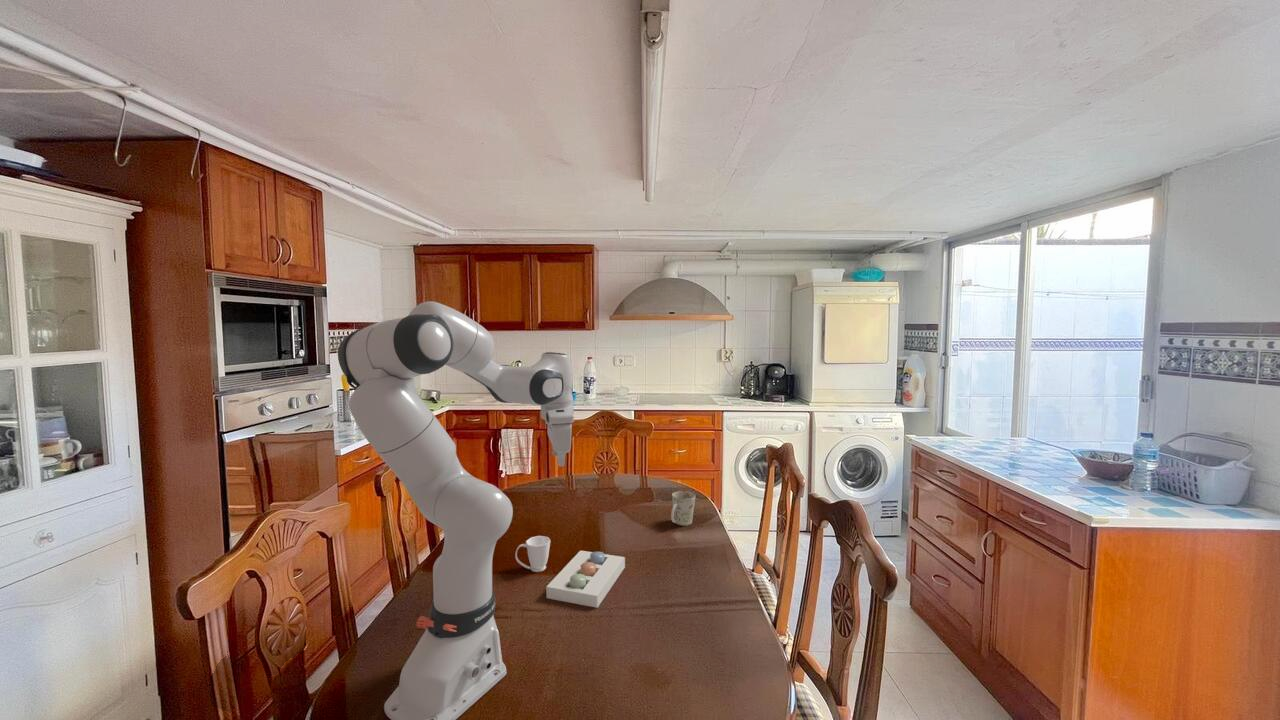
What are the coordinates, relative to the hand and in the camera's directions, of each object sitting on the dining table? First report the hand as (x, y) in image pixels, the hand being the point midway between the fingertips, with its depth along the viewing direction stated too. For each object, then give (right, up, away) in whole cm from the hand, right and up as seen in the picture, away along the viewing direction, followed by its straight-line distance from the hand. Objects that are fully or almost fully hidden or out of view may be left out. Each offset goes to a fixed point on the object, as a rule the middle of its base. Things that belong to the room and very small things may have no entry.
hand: (558, 460), depth 128 cm
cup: (-8, -32, +5) cm, 34 cm away
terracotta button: (+8, -31, -2) cm, 32 cm away
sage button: (+6, -31, -8) cm, 33 cm away
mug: (+37, -31, +36) cm, 60 cm away
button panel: (+8, -33, -2) cm, 34 cm away
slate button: (+10, -31, +4) cm, 33 cm away
